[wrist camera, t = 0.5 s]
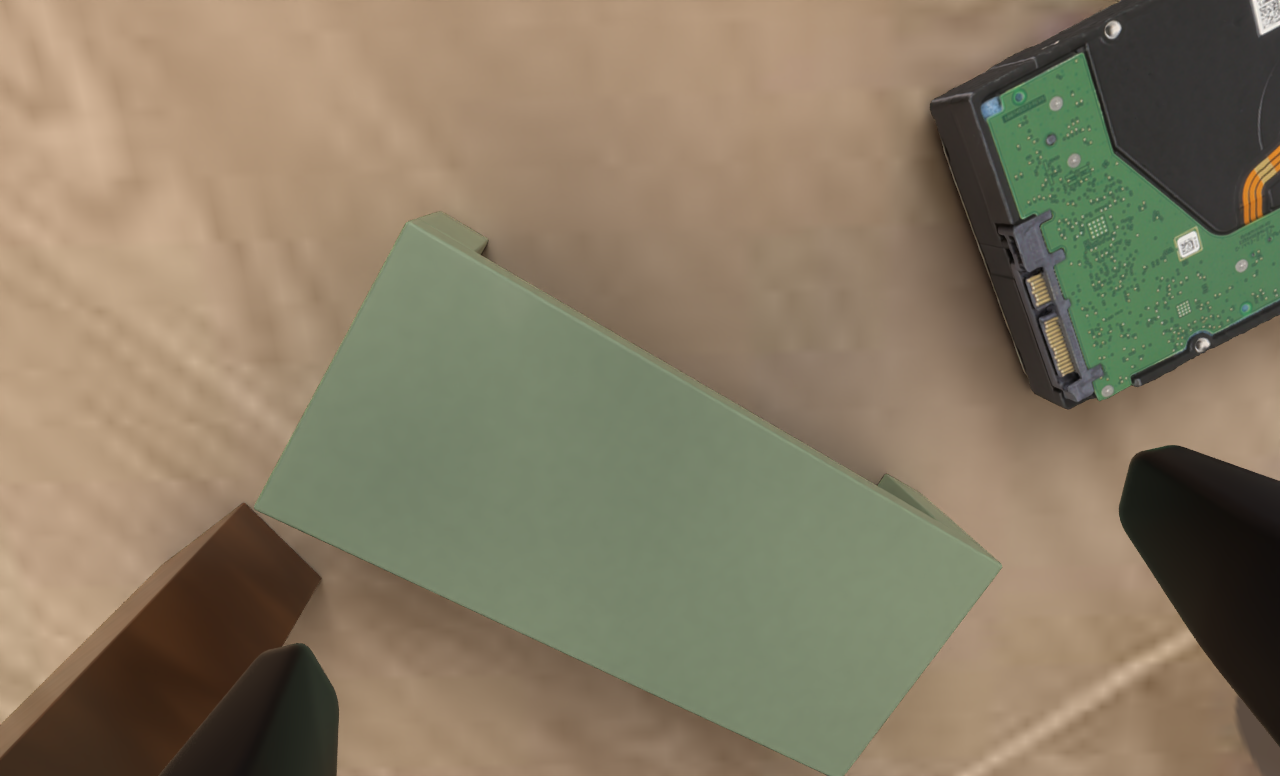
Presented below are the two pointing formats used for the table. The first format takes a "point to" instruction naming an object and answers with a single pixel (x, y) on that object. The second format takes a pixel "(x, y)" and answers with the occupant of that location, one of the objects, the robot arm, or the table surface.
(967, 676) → the table surface
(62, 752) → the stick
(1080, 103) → the disk drive
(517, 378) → the sage green box
